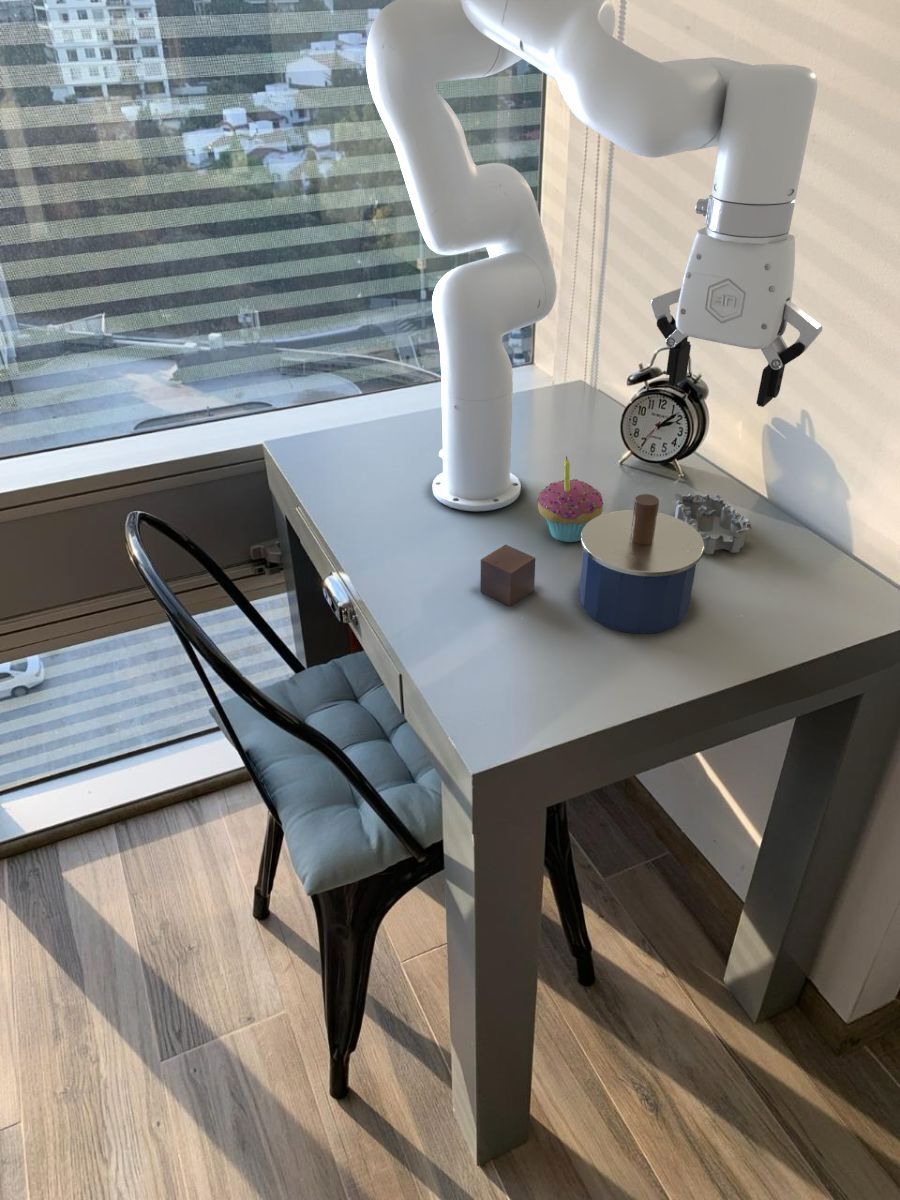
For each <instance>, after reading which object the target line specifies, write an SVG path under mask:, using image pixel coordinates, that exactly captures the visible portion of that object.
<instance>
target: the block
mask: <svg viewBox="0 0 900 1200" xmlns="http://www.w3.org/2000/svg"><path fill="white" fill-rule="evenodd" d="M536 559H537V558H536V556H532V555H530V554H528V553H526V552H523V551H521V550H519V549H517V548H515V547H512V546H510V545H508V544H504V545H503V546H501V547H498V548H497V549H495V550H494V551H492V552H490V553H489V554H487V555H486V556H484V557H483V558H481V559H480V581H479V583H480V587H479V588H480V593H482V594H484V595H486V596H487V597H490V598H492V599H494V600H496V601H497V602H500V603H502V604H503V605H506V606H508V607H511V606H512V605H514V604H516V603H517V602H519V601H520V600H521V599H523V598H524V597H526V596H527V595H529V594H530V593H532V592H533V591H534V590H535V579H536V577H535V576H536Z"/></svg>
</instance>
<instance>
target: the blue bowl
mask: <svg viewBox="0 0 900 1200" xmlns="http://www.w3.org/2000/svg"><path fill="white" fill-rule="evenodd" d="M696 570H697V564H695V565H694V566H693V567H691V568H689V569H687V570H685V571H682V572H680V573H676V574H672V575H666V576H637V575H630V574H625V573H621V572H618V571H615V570H612V569H609V568H607V567H605V566H602V565H601V564H599V563H597V562H596V561H594V560H593V559H591V558H590V557H589V556H588V555H587V554H586V552H585V551H584V549H583V548H582V559H581V570H580V571H581V572H580V582H579V595H578V596H579V601H580V605H581V607H582V610H583V611H584V612H585V613H586V614H587V616H589V618H591V619H592V620H594V621H595V622H597V623H598V624H600V625H602V626H604V627H607V628H609V629H612V630H615V631H618V632H623V633H628V634H629V633H630V634H638V635H639V634H640V635H641V634H643V635H644V634H656V633H661V632H664V631H668V630H670V629H673V628H674V627H676V626H678V625H680V624H681V623H682V622H683V621H684V620H685V619H686V618H687V615H688V613H689V609H690V603H691V597H692V592H693V585H694V581H695V574H696Z"/></svg>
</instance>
